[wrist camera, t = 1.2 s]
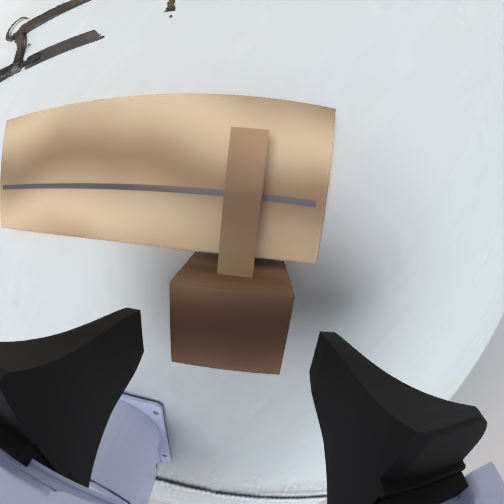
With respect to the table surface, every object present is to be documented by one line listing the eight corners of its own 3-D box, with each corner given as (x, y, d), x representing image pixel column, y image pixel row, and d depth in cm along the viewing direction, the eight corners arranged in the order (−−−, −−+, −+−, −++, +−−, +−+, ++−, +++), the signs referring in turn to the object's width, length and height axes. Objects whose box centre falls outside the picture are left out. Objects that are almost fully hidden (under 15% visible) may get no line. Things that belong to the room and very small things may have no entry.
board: (311, 256, 16) (316, 264, 14) (13, 224, 15) (0, 228, 14) (328, 115, 13) (336, 108, 12) (19, 122, 13) (5, 120, 12)
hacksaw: (-17, 99, 13) (-27, 99, 11) (3, 15, 9) (-5, 13, 8) (224, 29, 13) (222, 20, 12) (233, -61, 10) (232, -71, 8)
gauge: (274, 323, 17) (279, 374, 12) (193, 314, 17) (171, 361, 12) (298, 145, 14) (317, 128, 9) (206, 136, 14) (181, 116, 9)
